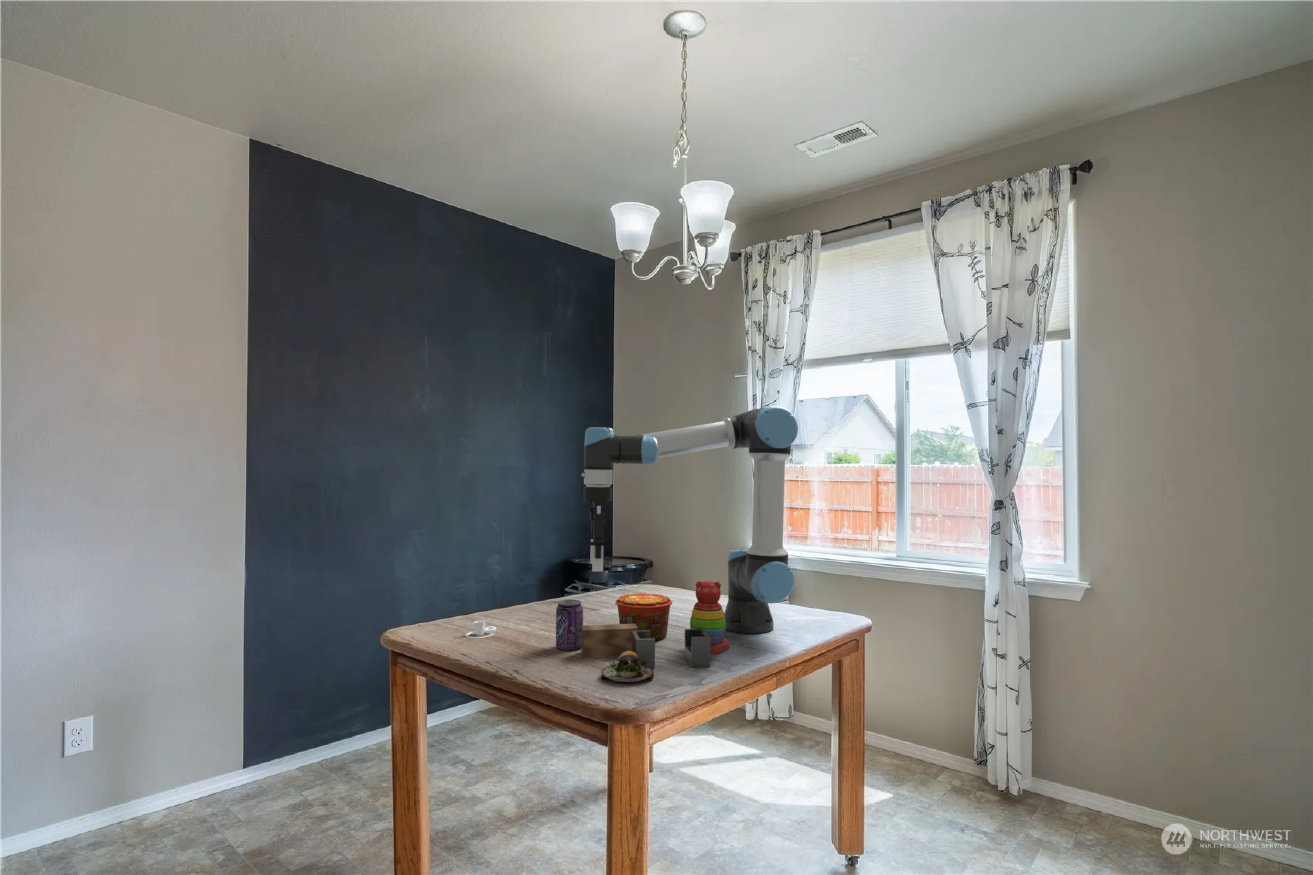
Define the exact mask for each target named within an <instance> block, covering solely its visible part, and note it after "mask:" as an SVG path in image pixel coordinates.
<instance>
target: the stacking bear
mask: <svg viewBox="0 0 1313 875" xmlns="http://www.w3.org/2000/svg"><path fill="white" fill-rule="evenodd" d="M721 586H722V584H721V583H720V582H719V581H711V580H705V581H702V580H697V581H696V583H695V587H696V588H695V598H696V600H697V601H696V602H695V604H694V605H693V608H692V610H691V616H690V618H689V619H690V620H689V629H698V628H702V629H703V630H704V631H705V632H706V633H707V634H708V635H709V636H710V655H712V654H713V655H714V654H719V653H723V652H725V651H727V650H728V649H729V648H730V642H729V641H728V640H727V639H725V637H724V636H725V634H726V626H725V625H726V621H725V617H724V612H725V610H724V609H723V607H722V605H721V603H720V602H719V601H720V599H721V595H722V592H721V591H722V590H721Z"/></svg>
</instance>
